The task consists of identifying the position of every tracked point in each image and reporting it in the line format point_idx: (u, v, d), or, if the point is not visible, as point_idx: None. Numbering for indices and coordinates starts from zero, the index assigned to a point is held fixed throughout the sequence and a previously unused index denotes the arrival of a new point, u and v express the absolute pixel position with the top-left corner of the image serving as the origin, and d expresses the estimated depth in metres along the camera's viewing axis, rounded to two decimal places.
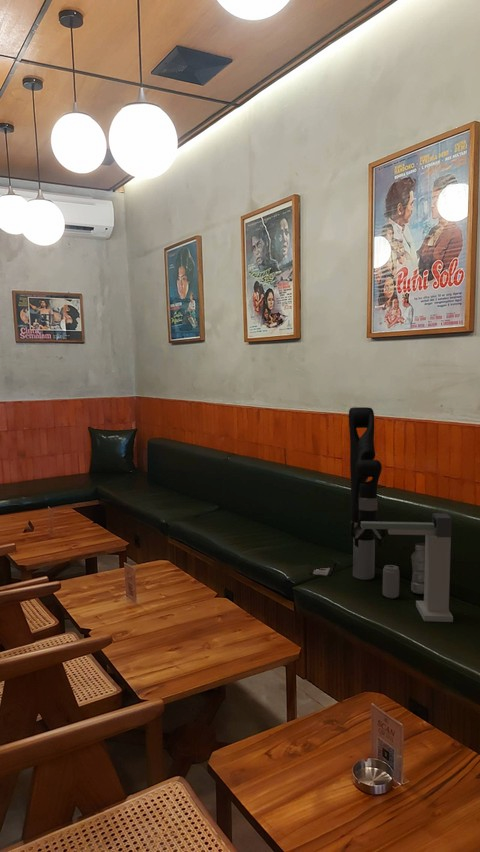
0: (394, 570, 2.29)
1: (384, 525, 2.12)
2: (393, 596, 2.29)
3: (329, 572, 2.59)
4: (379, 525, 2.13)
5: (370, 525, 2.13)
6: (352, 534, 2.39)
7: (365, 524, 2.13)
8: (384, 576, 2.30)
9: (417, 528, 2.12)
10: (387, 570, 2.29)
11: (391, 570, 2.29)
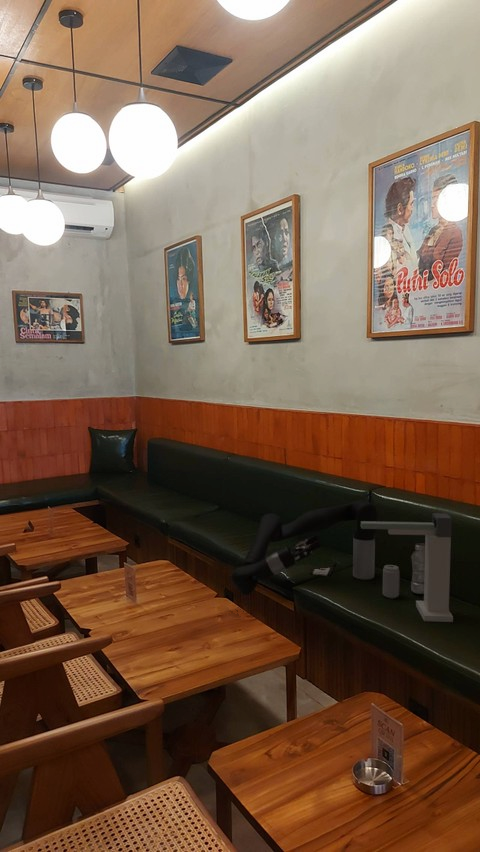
0: (394, 570, 2.29)
1: (384, 525, 2.12)
2: (393, 596, 2.29)
3: (329, 572, 2.59)
4: (379, 525, 2.13)
5: (370, 525, 2.13)
6: (305, 549, 2.11)
7: (365, 524, 2.13)
8: (384, 576, 2.30)
9: (417, 528, 2.12)
10: (387, 570, 2.29)
11: (391, 570, 2.29)
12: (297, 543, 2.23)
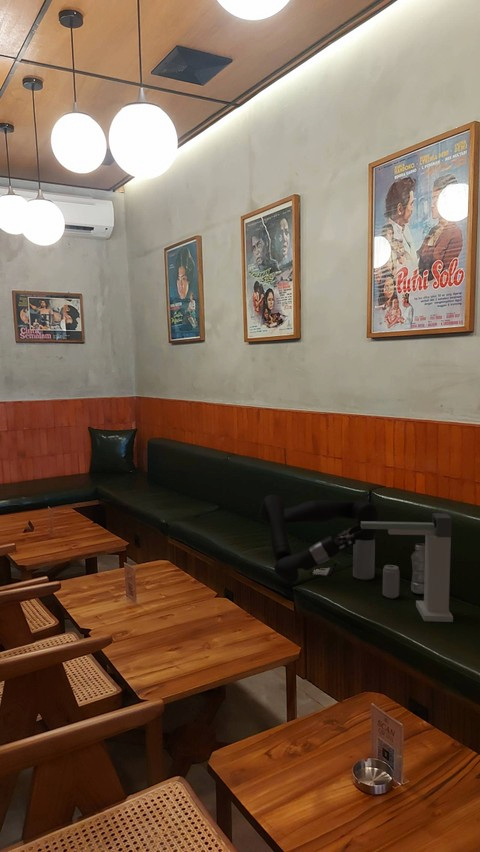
0: (394, 570, 2.29)
1: (384, 525, 2.12)
2: (393, 596, 2.29)
3: (329, 572, 2.59)
4: (379, 525, 2.13)
5: (370, 525, 2.13)
6: (349, 538, 2.08)
7: (365, 524, 2.13)
8: (384, 576, 2.30)
9: (417, 528, 2.12)
10: (387, 570, 2.29)
11: (391, 570, 2.29)
12: (340, 533, 2.21)
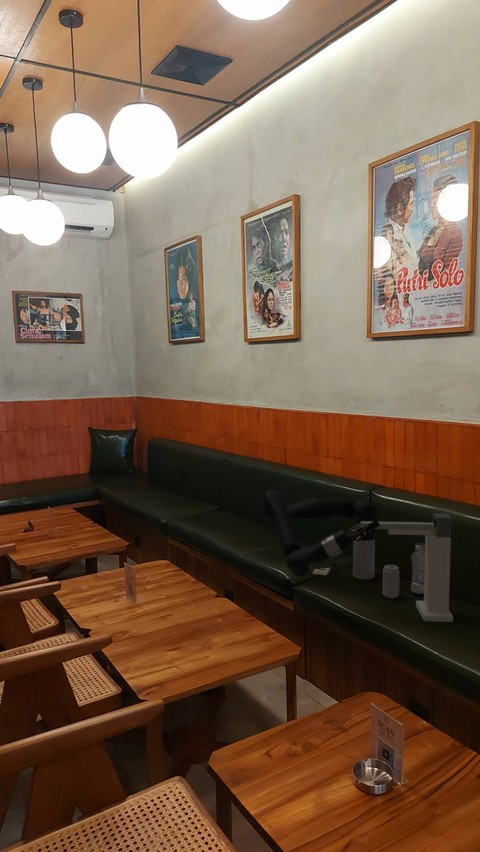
0: (394, 570, 2.29)
1: (384, 525, 2.12)
2: (393, 596, 2.29)
3: (329, 572, 2.59)
4: None
5: None
6: (364, 528, 2.11)
7: (365, 524, 2.13)
8: (384, 576, 2.30)
9: (417, 528, 2.12)
10: (387, 570, 2.29)
11: (391, 570, 2.29)
12: (354, 525, 2.20)
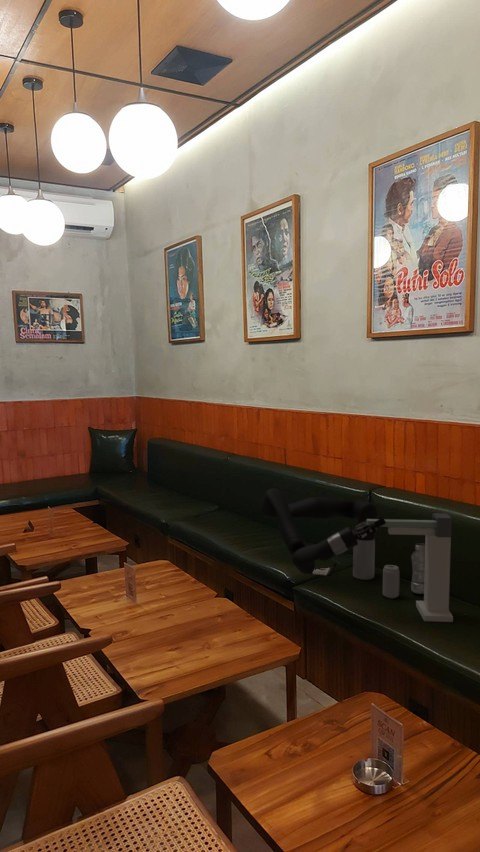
0: (394, 570, 2.29)
1: (390, 523, 2.12)
2: (393, 596, 2.29)
3: (329, 572, 2.59)
4: (385, 523, 2.12)
5: None
6: (370, 525, 2.11)
7: (371, 522, 2.13)
8: (384, 576, 2.30)
9: (423, 526, 2.11)
10: (387, 570, 2.29)
11: (391, 570, 2.29)
12: (360, 523, 2.20)
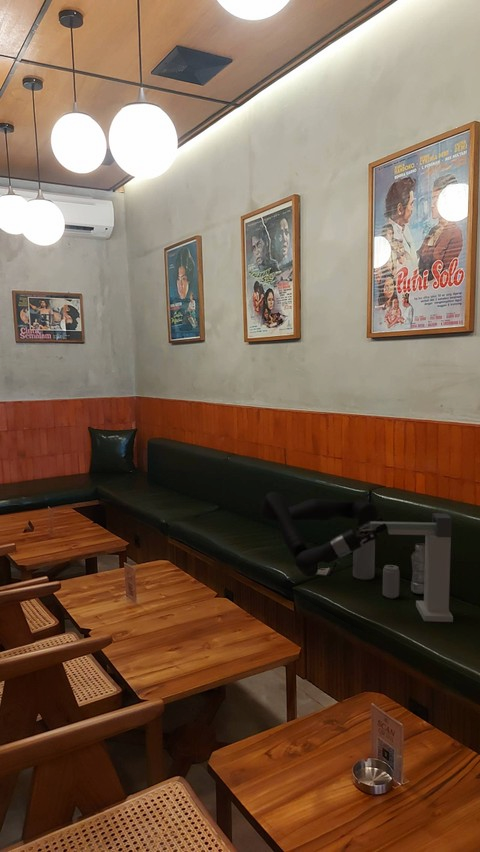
0: (394, 570, 2.29)
1: (394, 525, 2.12)
2: (393, 596, 2.29)
3: (329, 572, 2.59)
4: (389, 525, 2.12)
5: None
6: (372, 531, 2.08)
7: (375, 524, 2.13)
8: (384, 576, 2.30)
9: (427, 528, 2.11)
10: (387, 570, 2.29)
11: (391, 570, 2.29)
12: (360, 526, 2.21)
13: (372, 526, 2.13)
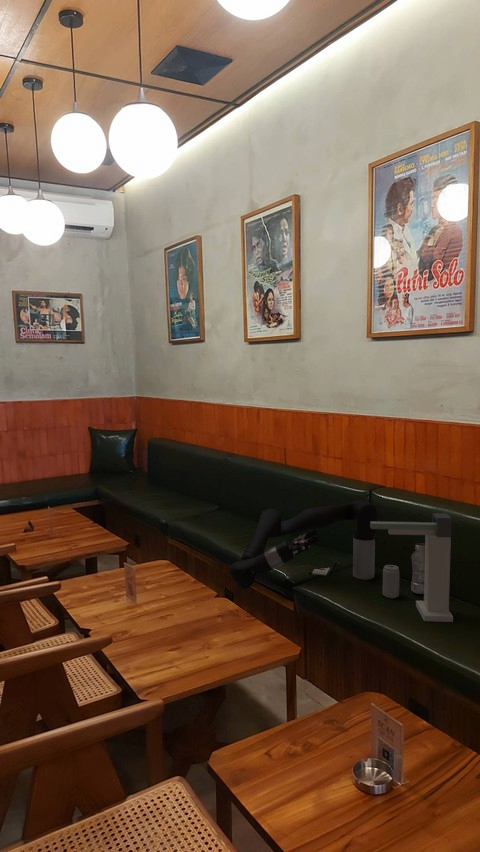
0: (394, 570, 2.29)
1: (394, 525, 2.12)
2: (393, 596, 2.29)
3: (328, 572, 2.59)
4: (389, 525, 2.12)
5: (380, 525, 2.13)
6: (303, 543, 2.11)
7: (375, 524, 2.13)
8: (384, 576, 2.30)
9: (427, 528, 2.11)
10: (387, 570, 2.29)
11: (391, 570, 2.29)
12: (295, 538, 2.23)
13: (372, 526, 2.13)
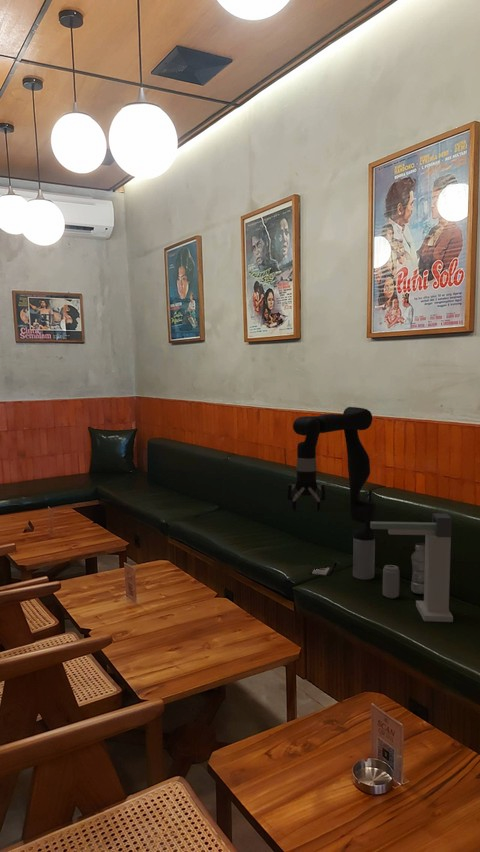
0: (394, 570, 2.29)
1: (394, 525, 2.12)
2: (393, 596, 2.29)
3: (328, 572, 2.59)
4: (389, 525, 2.12)
5: (380, 525, 2.13)
6: (289, 497, 2.23)
7: (375, 524, 2.13)
8: (384, 576, 2.30)
9: (427, 528, 2.11)
10: (387, 570, 2.29)
11: (391, 570, 2.29)
12: (322, 489, 2.22)
13: (372, 526, 2.13)
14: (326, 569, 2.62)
